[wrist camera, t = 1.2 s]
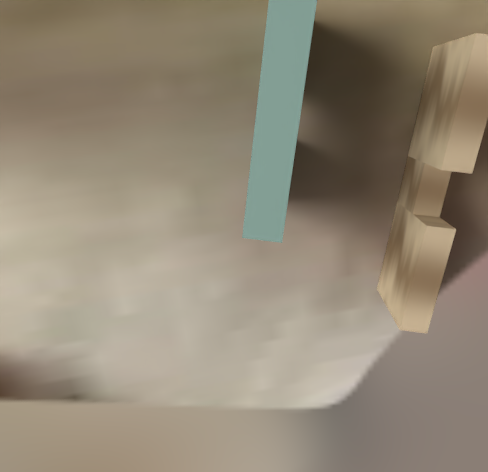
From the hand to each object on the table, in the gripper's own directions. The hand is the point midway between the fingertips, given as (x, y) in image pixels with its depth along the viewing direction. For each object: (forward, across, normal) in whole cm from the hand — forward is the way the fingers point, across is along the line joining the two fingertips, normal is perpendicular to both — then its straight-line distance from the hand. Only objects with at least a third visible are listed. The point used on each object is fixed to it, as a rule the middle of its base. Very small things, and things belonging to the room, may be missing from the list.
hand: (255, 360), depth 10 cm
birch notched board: (+26, +12, +1) cm, 29 cm away
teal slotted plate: (+26, 0, +5) cm, 27 cm away
